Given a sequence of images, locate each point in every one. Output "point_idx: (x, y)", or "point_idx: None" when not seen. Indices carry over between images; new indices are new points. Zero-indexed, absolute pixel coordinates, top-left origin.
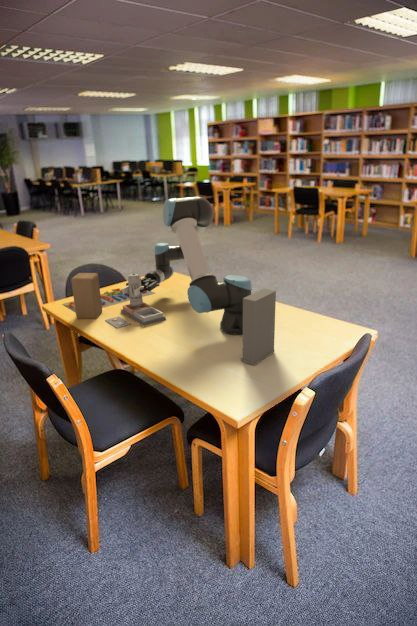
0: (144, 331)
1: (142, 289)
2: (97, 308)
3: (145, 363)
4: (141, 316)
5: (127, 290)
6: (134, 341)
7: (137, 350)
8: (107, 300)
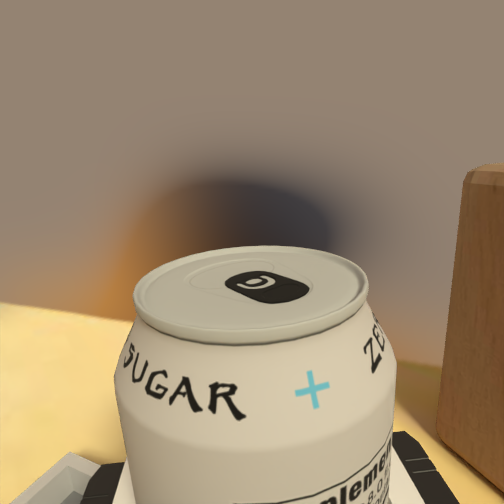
0: (60, 431)
1: (90, 481)
2: (472, 414)
3: (22, 311)
4: (93, 463)
5: None
6: (86, 361)
7: (59, 334)
8: None
